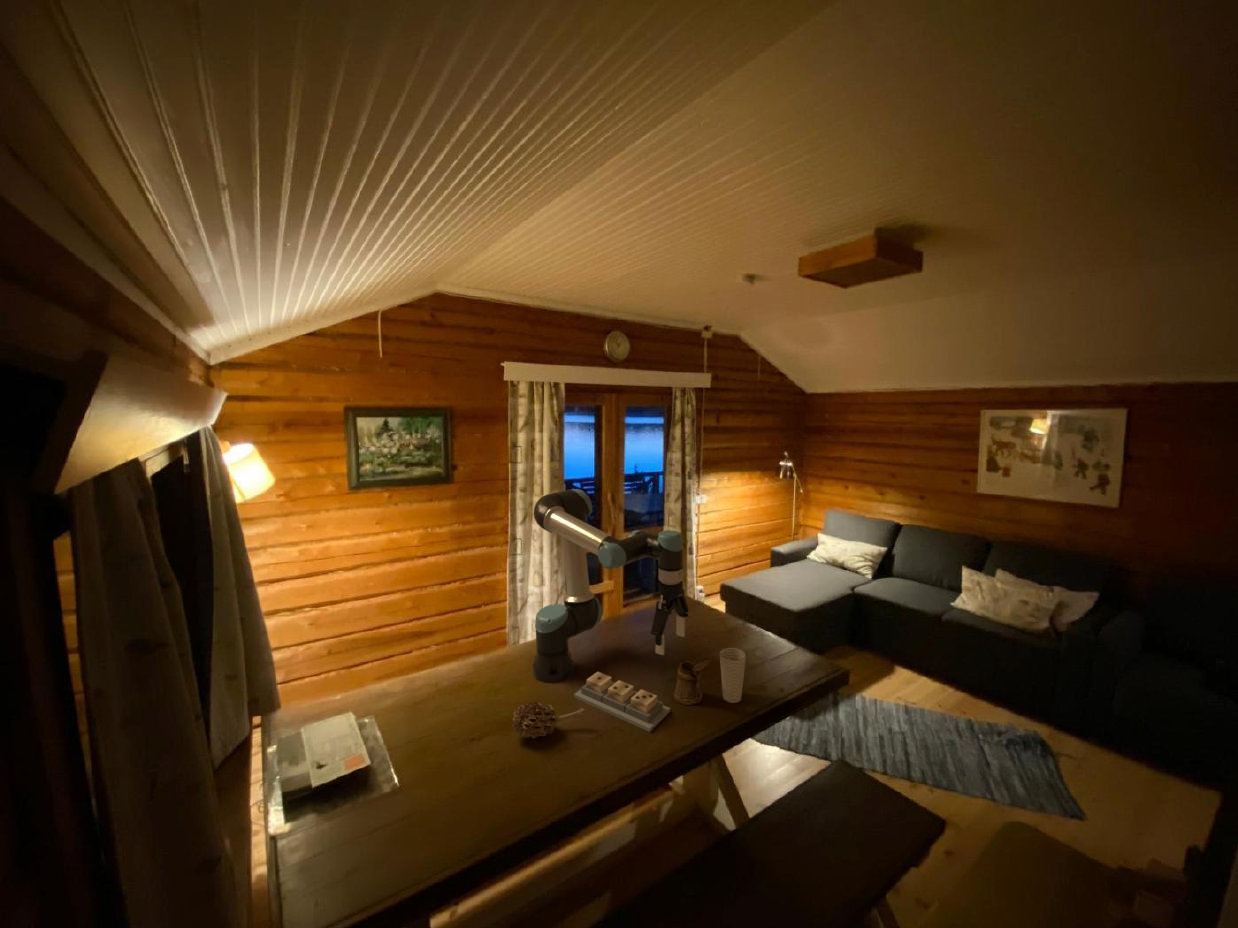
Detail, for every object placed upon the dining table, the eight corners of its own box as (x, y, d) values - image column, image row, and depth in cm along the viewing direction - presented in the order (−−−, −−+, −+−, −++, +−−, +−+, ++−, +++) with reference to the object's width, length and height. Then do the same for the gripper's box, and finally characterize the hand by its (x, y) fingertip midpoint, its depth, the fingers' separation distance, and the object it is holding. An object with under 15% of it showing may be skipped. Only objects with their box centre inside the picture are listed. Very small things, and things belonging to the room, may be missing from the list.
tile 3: (630, 707, 160) (630, 697, 160) (641, 697, 165) (641, 688, 164) (646, 714, 157) (646, 704, 156) (657, 704, 161) (657, 694, 161)
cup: (713, 697, 169) (714, 654, 167) (728, 687, 175) (729, 644, 173) (735, 708, 163) (736, 663, 161) (750, 697, 169) (751, 653, 167)
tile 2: (608, 697, 165) (607, 688, 165) (618, 688, 170) (618, 679, 170) (623, 703, 162) (622, 694, 161) (633, 694, 167) (633, 685, 166)
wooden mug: (694, 716, 160) (694, 663, 157) (668, 694, 171) (669, 644, 169) (716, 707, 164) (717, 655, 162) (690, 686, 176) (690, 637, 173)
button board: (574, 697, 171) (573, 688, 170) (596, 680, 180) (596, 671, 180) (649, 732, 153) (649, 721, 152) (670, 711, 162) (670, 701, 162)
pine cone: (515, 751, 146) (513, 719, 144) (510, 730, 155) (509, 700, 153) (589, 733, 153) (588, 702, 151) (581, 714, 162) (580, 685, 160)
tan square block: (586, 687, 171) (586, 679, 170) (597, 679, 175) (597, 670, 175) (600, 694, 167) (600, 685, 167) (611, 685, 172) (611, 676, 171)
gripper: (661, 597, 147) (661, 665, 150) (699, 570, 167) (698, 631, 170) (639, 591, 151) (639, 658, 154) (678, 566, 171) (678, 625, 175)
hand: (670, 644), depth 162 cm, fingers open, 13 cm apart
